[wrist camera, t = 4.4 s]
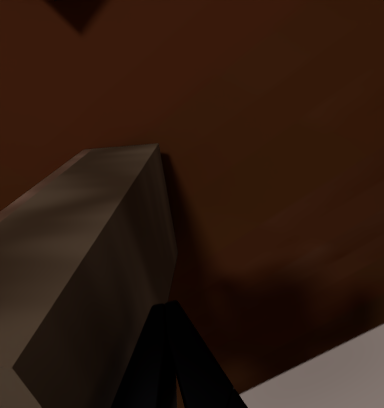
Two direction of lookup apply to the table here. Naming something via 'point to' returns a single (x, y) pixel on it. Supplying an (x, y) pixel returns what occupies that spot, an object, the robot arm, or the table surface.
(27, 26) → the table surface
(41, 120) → the table surface
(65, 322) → the streaky grey slab
